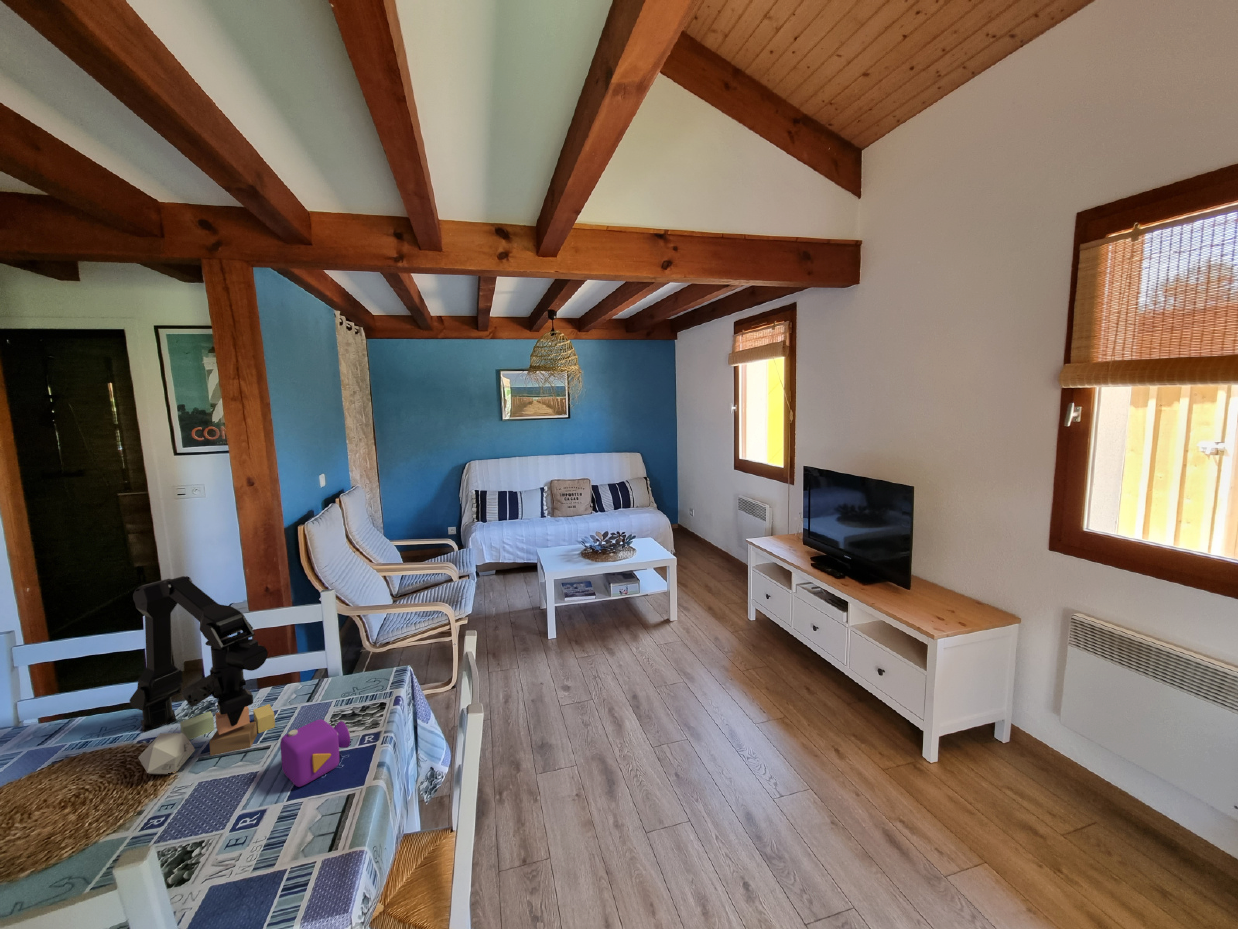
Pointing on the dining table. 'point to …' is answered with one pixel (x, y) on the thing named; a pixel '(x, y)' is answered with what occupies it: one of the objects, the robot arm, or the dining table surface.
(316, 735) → the toy camera
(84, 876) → the dining table surface
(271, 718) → the ochre brick
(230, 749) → the walnut base
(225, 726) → the terracotta brick
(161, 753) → the die
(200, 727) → the sage brick
